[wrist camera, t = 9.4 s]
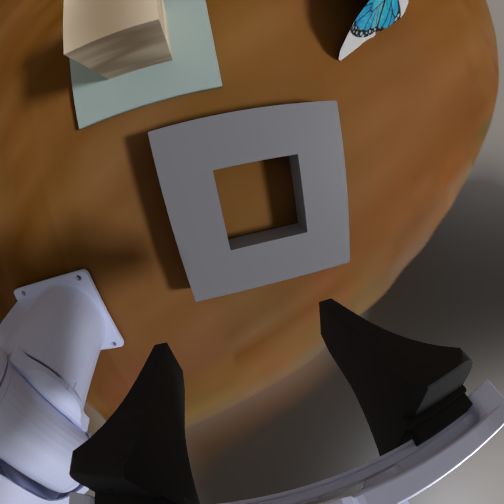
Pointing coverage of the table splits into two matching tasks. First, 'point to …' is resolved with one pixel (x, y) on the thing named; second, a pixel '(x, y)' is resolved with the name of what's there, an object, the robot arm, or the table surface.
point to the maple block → (116, 34)
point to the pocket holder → (245, 151)
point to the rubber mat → (153, 70)
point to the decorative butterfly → (372, 22)
